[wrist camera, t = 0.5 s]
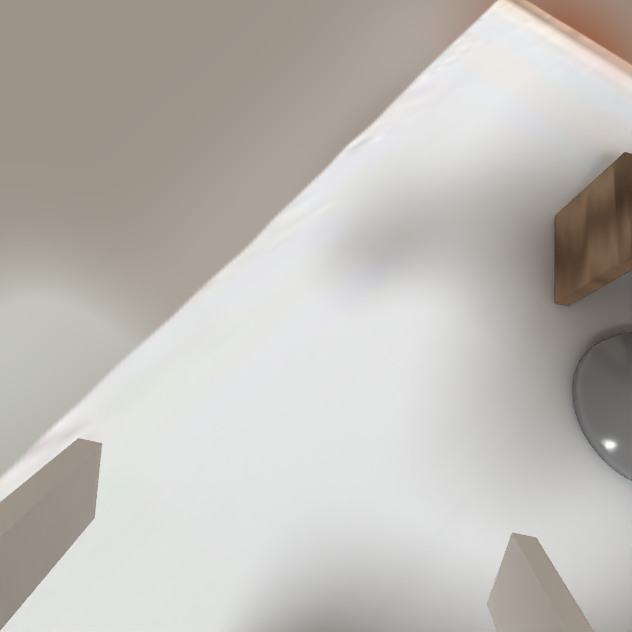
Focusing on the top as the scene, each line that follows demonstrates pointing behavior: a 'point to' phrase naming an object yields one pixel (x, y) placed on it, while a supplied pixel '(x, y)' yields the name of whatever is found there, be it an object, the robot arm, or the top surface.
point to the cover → (595, 234)
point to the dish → (607, 400)
